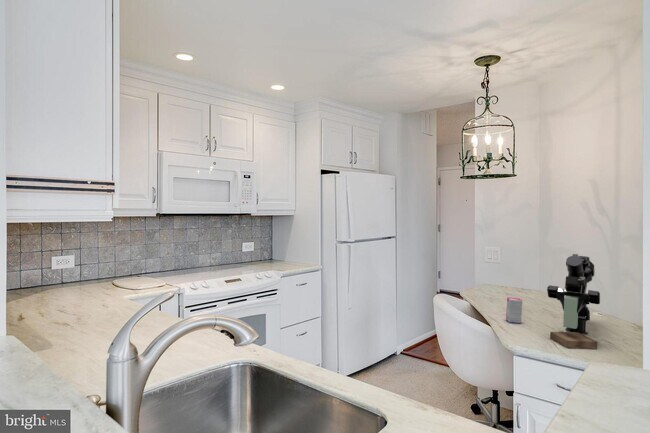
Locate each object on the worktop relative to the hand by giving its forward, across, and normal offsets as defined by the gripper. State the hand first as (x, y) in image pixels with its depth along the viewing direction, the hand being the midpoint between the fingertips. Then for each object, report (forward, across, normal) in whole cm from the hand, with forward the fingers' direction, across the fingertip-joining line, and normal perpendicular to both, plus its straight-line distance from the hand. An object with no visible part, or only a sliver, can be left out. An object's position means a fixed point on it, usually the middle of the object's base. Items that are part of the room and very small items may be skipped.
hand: (570, 311), depth 166 cm
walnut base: (+8, +1, +11) cm, 14 cm away
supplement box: (-4, -26, +24) cm, 35 cm away
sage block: (+4, 0, +6) cm, 7 cm away
